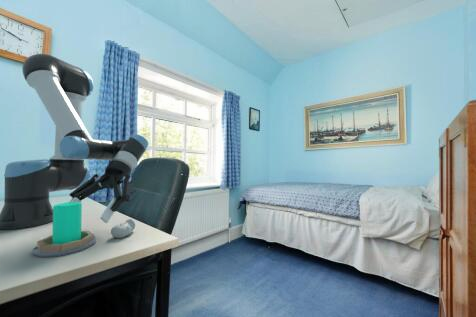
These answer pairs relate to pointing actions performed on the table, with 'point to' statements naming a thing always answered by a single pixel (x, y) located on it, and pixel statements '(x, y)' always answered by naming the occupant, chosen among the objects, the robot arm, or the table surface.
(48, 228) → the table surface
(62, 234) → the candle
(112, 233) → the grey curved figurine
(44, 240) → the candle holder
